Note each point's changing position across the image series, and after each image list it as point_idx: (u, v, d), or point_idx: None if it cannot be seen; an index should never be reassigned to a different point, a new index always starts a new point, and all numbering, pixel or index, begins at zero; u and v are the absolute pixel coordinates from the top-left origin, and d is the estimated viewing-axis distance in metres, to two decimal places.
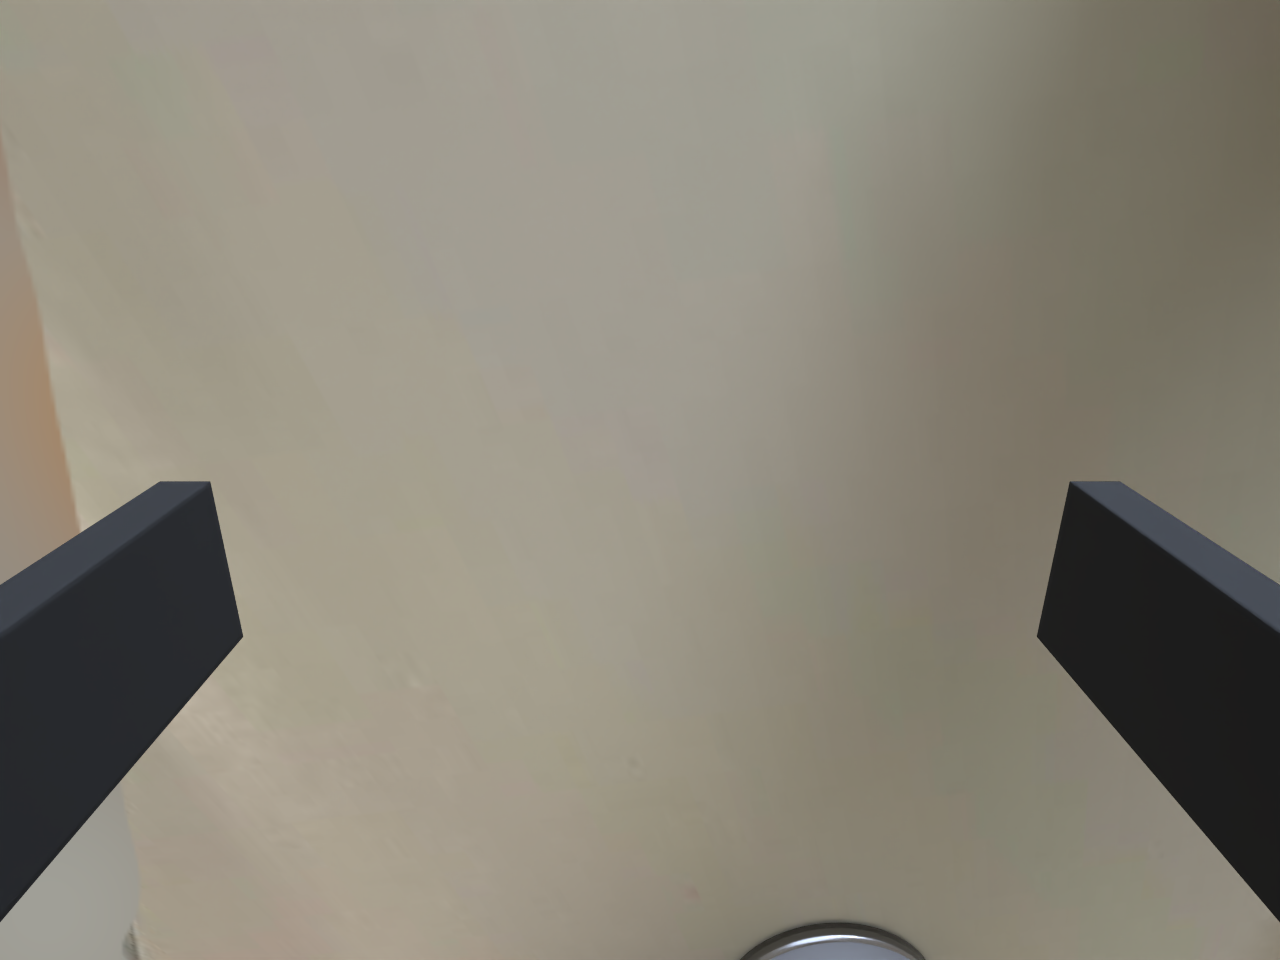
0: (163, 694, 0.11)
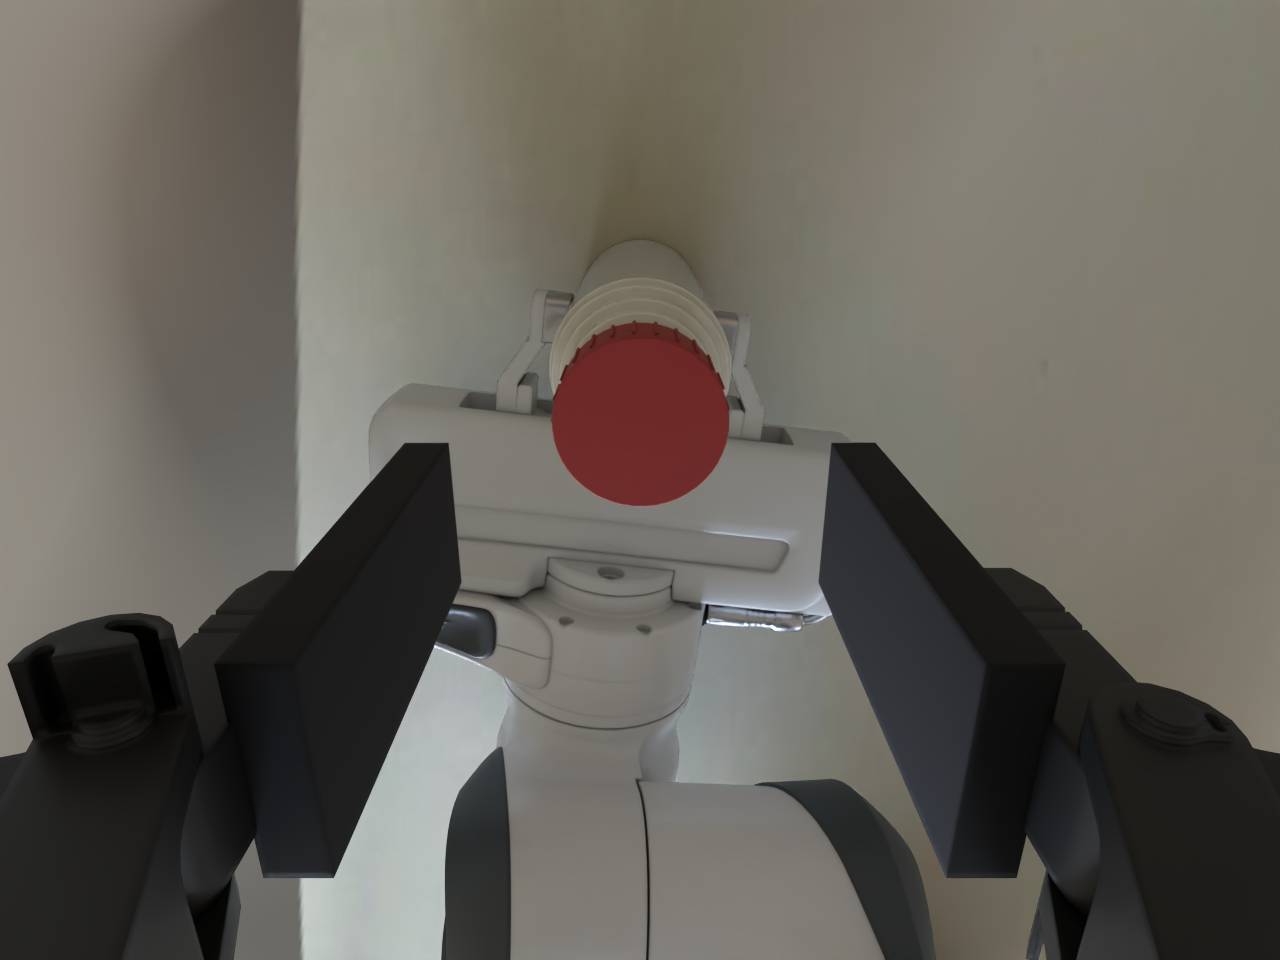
0: (430, 623, 0.12)
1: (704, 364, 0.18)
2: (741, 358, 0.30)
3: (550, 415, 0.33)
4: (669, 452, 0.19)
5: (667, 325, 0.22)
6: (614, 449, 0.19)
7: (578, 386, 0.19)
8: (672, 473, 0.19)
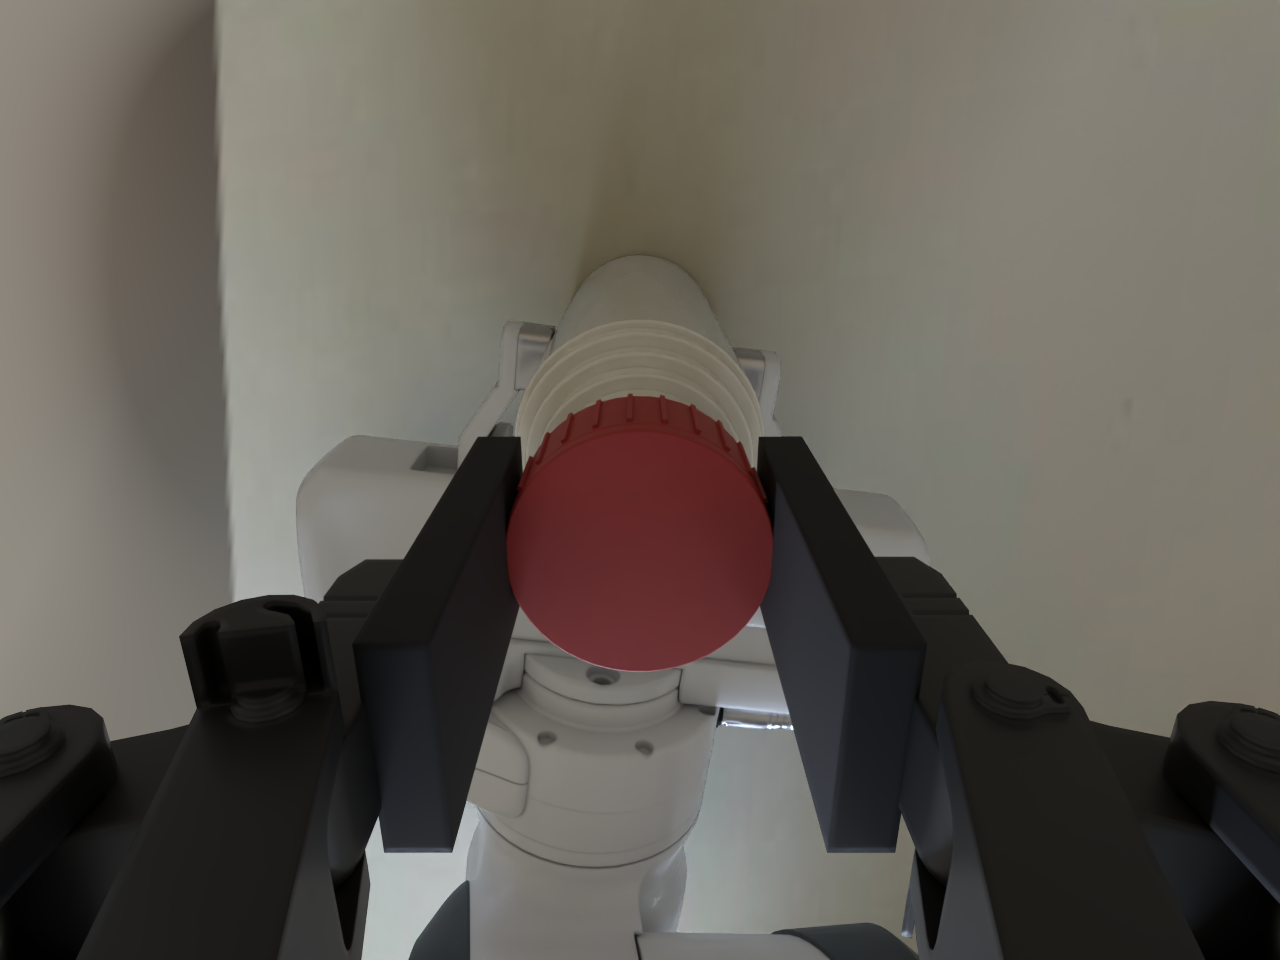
0: (509, 611, 0.13)
1: (738, 470, 0.12)
2: (768, 409, 0.24)
3: None
4: (683, 597, 0.13)
5: (678, 392, 0.15)
6: (600, 592, 0.13)
7: (544, 502, 0.12)
8: (687, 626, 0.13)
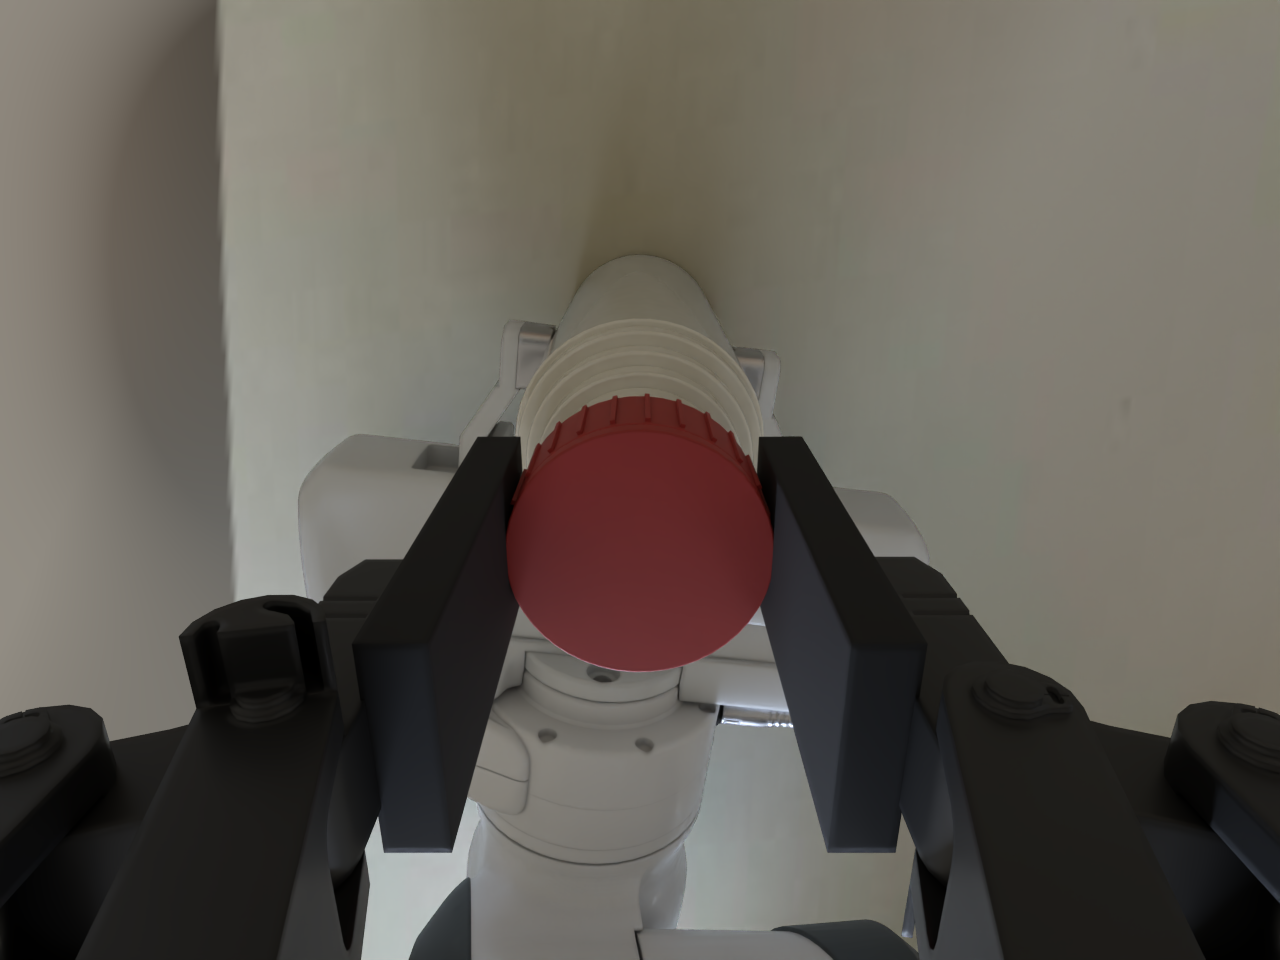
0: (509, 611, 0.13)
1: None
2: (768, 408, 0.24)
3: None
4: (637, 502, 0.12)
5: (678, 390, 0.15)
6: (695, 558, 0.12)
7: (663, 651, 0.13)
8: (658, 474, 0.12)
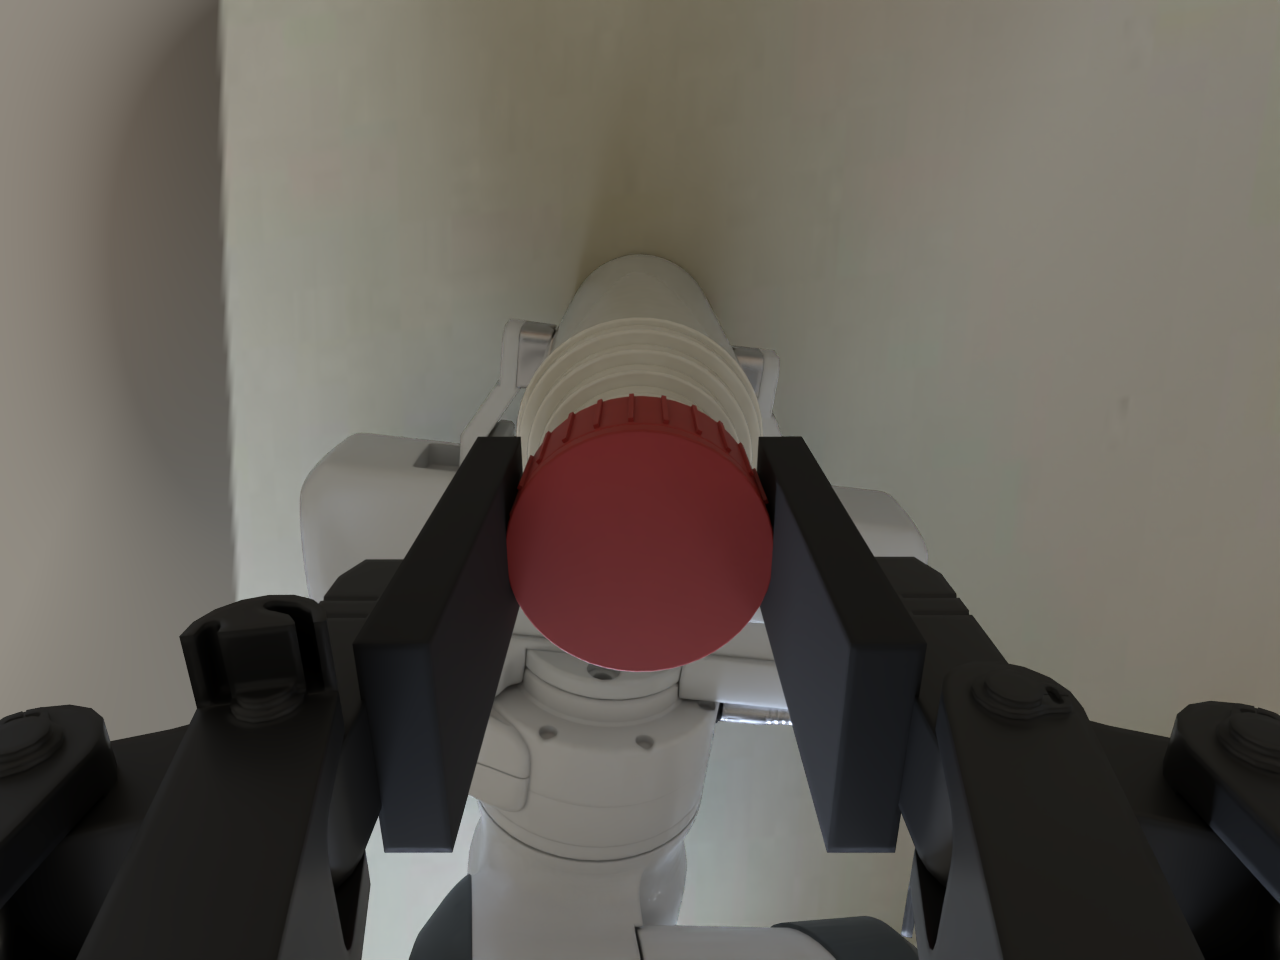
0: (510, 611, 0.13)
1: (734, 635, 0.13)
2: (767, 406, 0.24)
3: None
4: (599, 600, 0.13)
5: (678, 388, 0.15)
6: (598, 524, 0.12)
7: (698, 469, 0.12)
8: (566, 606, 0.13)
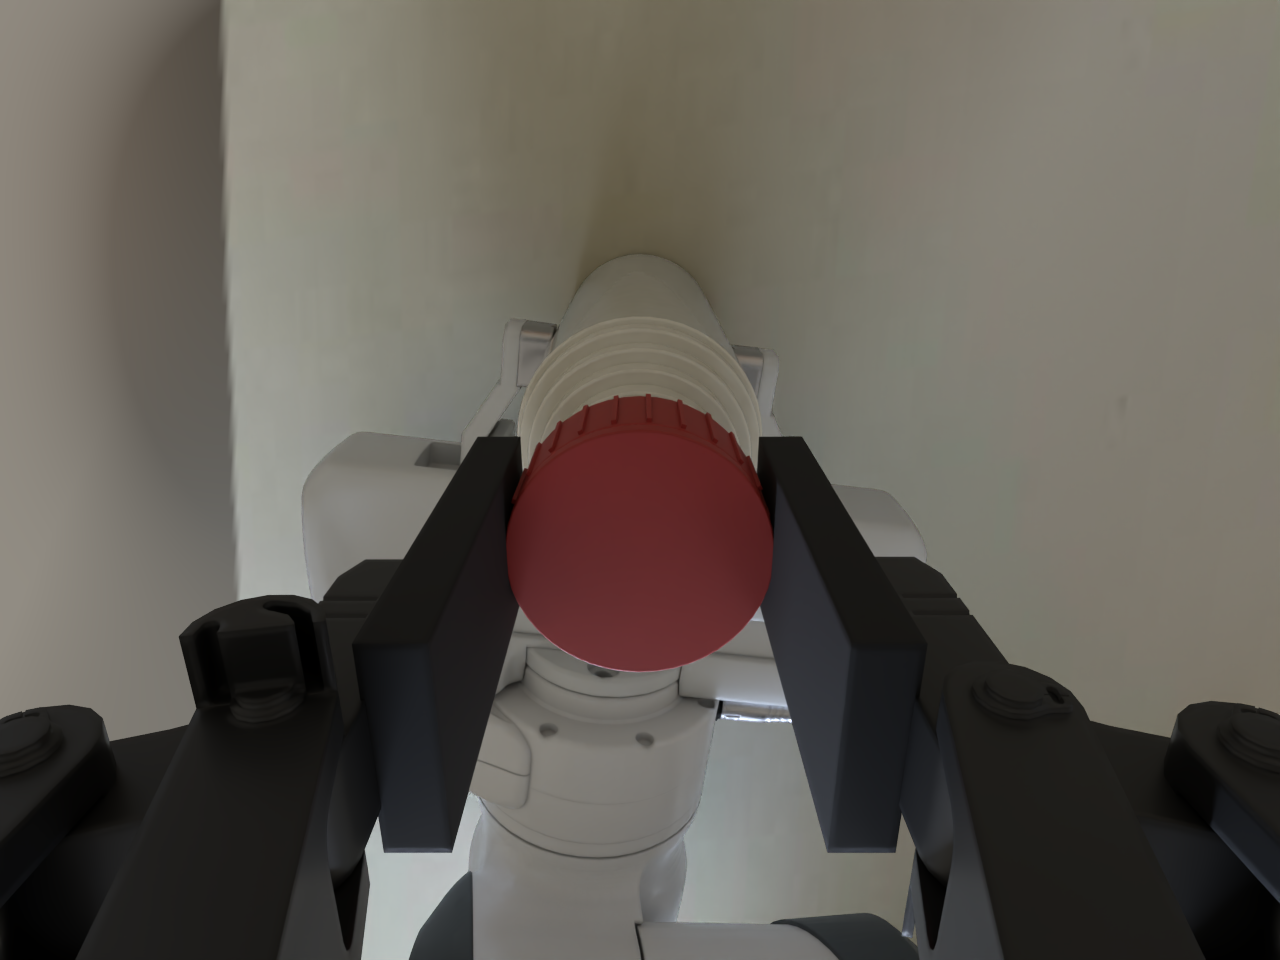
0: (509, 611, 0.13)
1: (629, 431, 0.12)
2: (766, 405, 0.24)
3: None
4: (701, 554, 0.12)
5: (677, 387, 0.15)
6: (642, 607, 0.13)
7: (534, 586, 0.13)
8: (730, 570, 0.12)
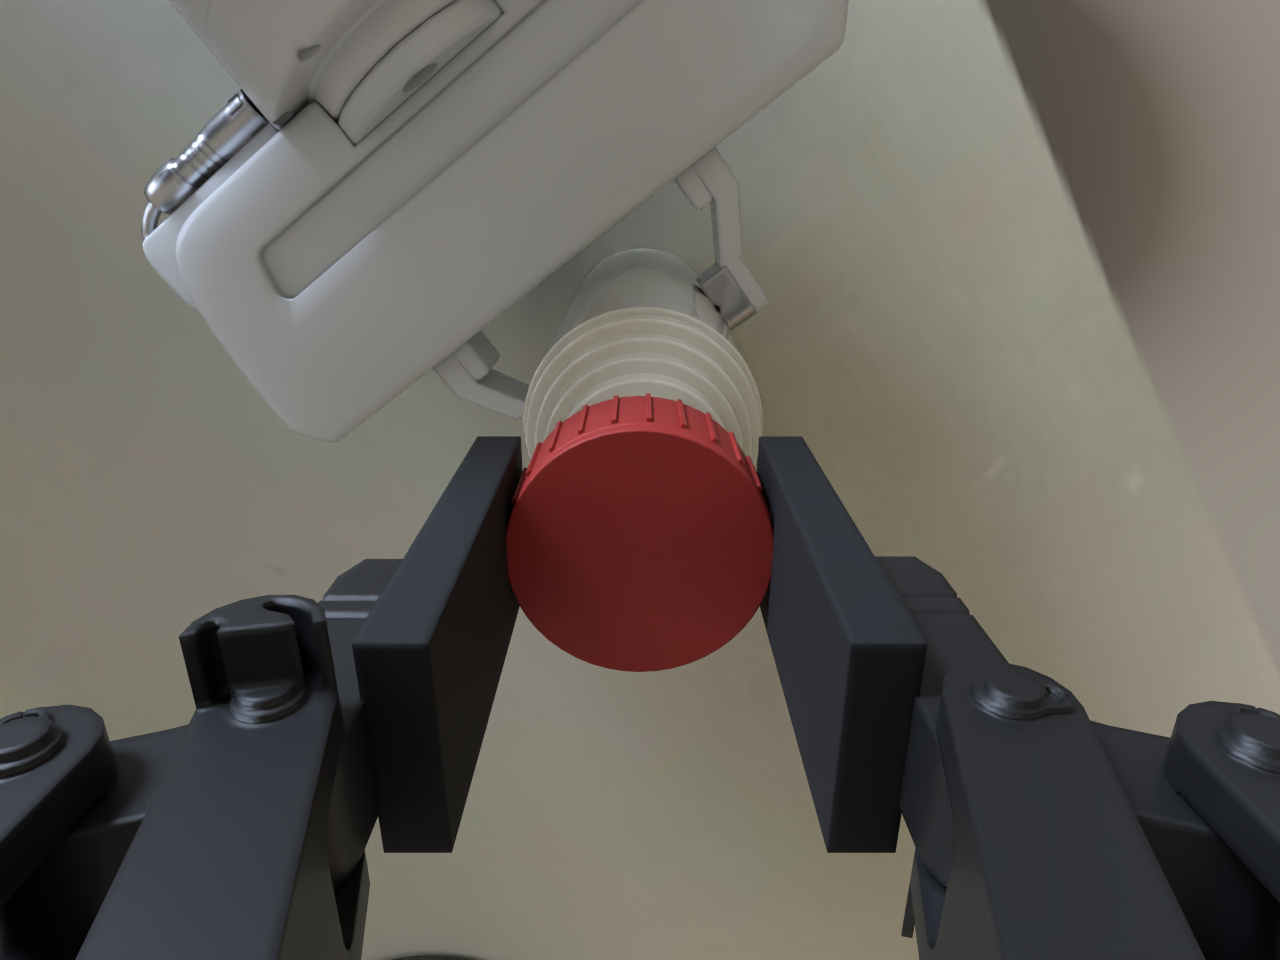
0: (509, 611, 0.13)
1: (628, 431, 0.12)
2: None
3: None
4: (701, 553, 0.12)
5: None
6: (642, 607, 0.13)
7: (534, 586, 0.13)
8: (730, 570, 0.12)
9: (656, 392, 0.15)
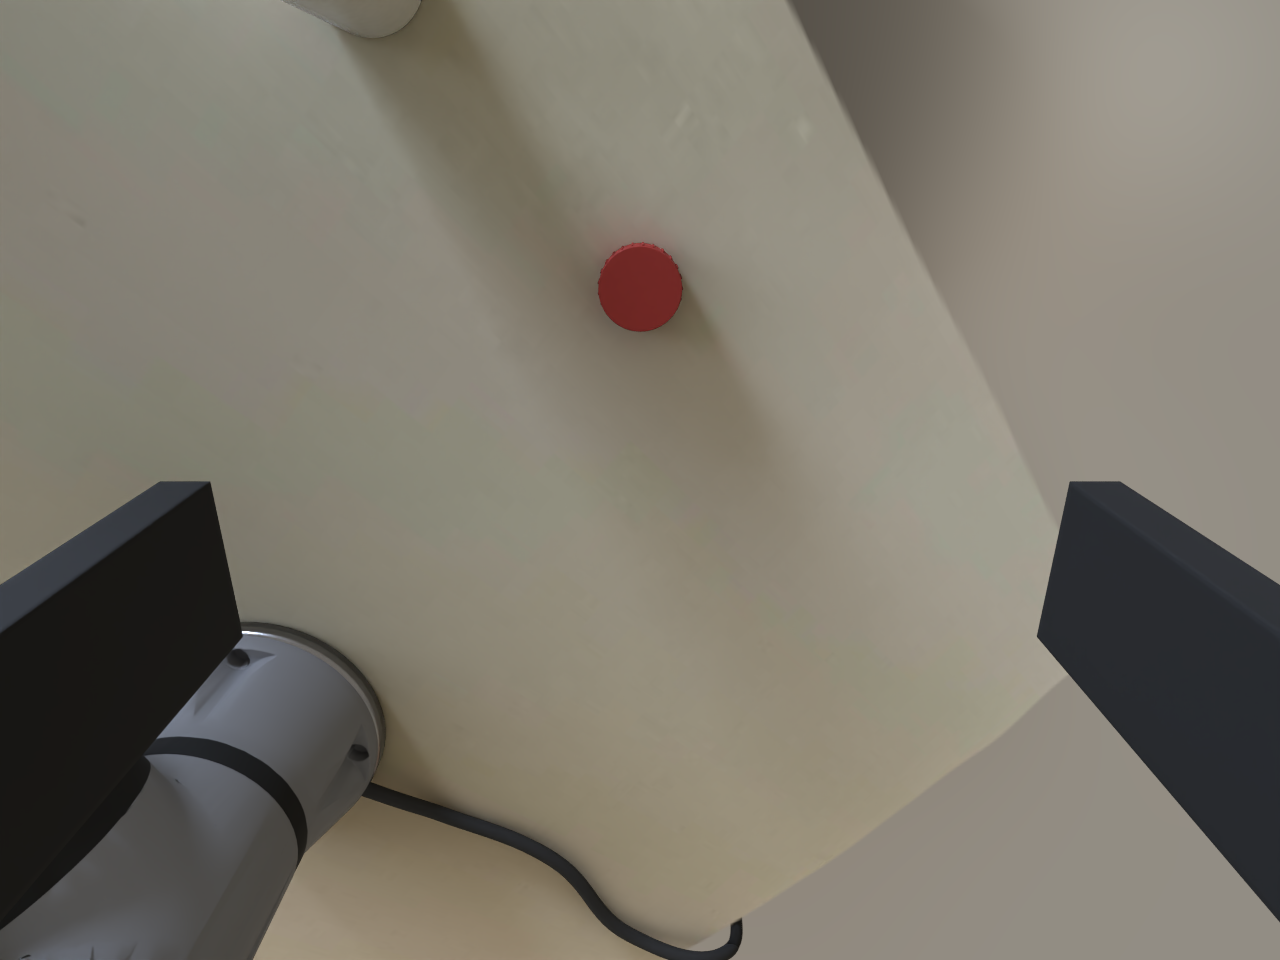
0: (163, 694, 0.11)
1: (637, 246, 0.39)
2: None
3: None
4: (659, 287, 0.40)
5: None
6: (641, 307, 0.40)
7: (607, 299, 0.40)
8: (668, 293, 0.40)
9: None
